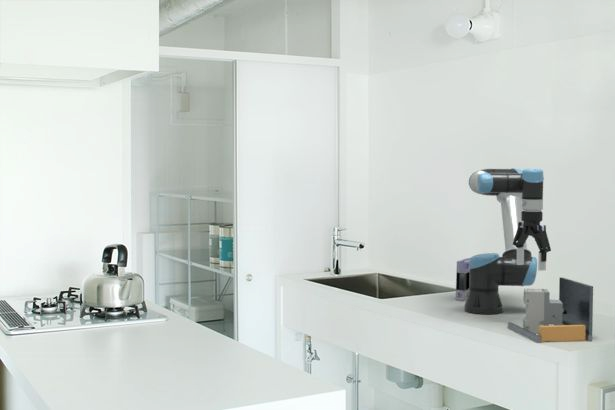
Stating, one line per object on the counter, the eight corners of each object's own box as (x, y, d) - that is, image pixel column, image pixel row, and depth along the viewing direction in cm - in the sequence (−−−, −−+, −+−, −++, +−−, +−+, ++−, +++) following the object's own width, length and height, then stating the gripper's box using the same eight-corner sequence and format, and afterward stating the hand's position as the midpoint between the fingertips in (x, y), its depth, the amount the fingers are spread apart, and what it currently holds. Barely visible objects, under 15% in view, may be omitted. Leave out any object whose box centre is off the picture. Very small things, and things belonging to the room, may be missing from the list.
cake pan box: (464, 301, 337) (465, 261, 336) (453, 300, 339) (454, 260, 338) (480, 295, 353) (480, 257, 352) (470, 294, 355) (470, 256, 355)
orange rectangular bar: (538, 340, 259) (539, 325, 259) (582, 339, 262) (582, 324, 261) (541, 342, 257) (541, 327, 257) (585, 340, 260) (585, 325, 259)
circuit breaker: (567, 335, 267) (567, 292, 266) (524, 334, 270) (525, 291, 269) (564, 331, 274) (565, 289, 274) (523, 329, 277) (523, 288, 277)
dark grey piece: (507, 327, 281) (508, 278, 280) (561, 326, 284) (562, 277, 283) (537, 342, 256) (538, 288, 255) (596, 340, 259) (597, 287, 258)
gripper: (504, 208, 296) (503, 263, 298) (544, 213, 272) (542, 273, 274) (521, 207, 298) (519, 262, 300) (561, 213, 275) (560, 272, 276)
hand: (530, 267), depth 287 cm, fingers open, 13 cm apart
